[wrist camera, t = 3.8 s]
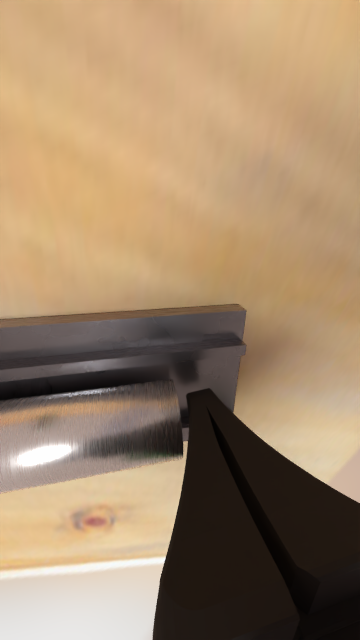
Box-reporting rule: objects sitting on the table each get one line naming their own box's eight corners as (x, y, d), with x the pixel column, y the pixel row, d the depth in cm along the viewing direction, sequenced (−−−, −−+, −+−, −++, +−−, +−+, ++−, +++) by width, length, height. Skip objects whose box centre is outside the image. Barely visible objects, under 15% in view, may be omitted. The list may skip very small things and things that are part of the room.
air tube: (170, 364, 11) (183, 419, 8) (171, 414, 12) (183, 479, 9) (-134, 397, 9) (-290, 493, 6) (-90, 454, 10) (-197, 558, 7)
